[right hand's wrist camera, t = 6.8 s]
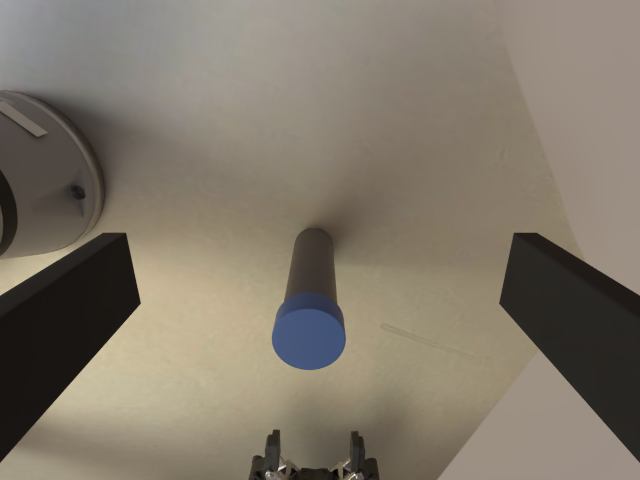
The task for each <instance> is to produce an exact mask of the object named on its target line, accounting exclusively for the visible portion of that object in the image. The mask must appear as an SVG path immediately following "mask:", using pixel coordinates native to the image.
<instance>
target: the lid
mask: <svg viewBox="0 0 640 480" xmlns="http://www.w3.org/2000/svg"><path fill="white" fill-rule="evenodd" d="M345 341H346V338H345V328H344V318H343V314H342V311H341V309H340V308H339V306H338V305H337V304H336V303H335V302H334V301H333V300H332V299H330V298H329V297H327V296H325V295H322V294H319V293H313V292H306V293H300V294H297V295H294V296H292V297H290V298H289V299H287V300H286V301H285V302H284V303H283V304H282V305H281V306H280V308H279V310H278V312H277V315H276V319H275V324H274V329H273V333H272V344H273V347H274V350H275V352H276V353H277V355H278V356H279V357H280V358H281V359H282V360H283V361H284V362H285V363H287V364H289V365H291V366H293V367H295V368H299V369H304V370H315V369H320V368H323V367H326V366H328V365H330V364H332V363H333V362H334V361H335V360H337V359H338V357H339V356H340V355H341V353H342V352H343V349H344V347H345Z"/></svg>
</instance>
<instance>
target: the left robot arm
mask: <svg viewBox="0 0 640 480" xmlns="http://www.w3.org/2000/svg"><path fill="white" fill-rule="evenodd" d="M277 471H278V472H277ZM351 472H352V473H351ZM266 479H268V480H379V473H378V467H377V460H376V459H375V458H368V459H367V460H365V446H364V440H363V437H358V431H351V442H350V457H349V458H348V459H347V460H345V461H344V462H342V461H339V462H338V463H337V464H336V465H335V466H334V467H333V468H331V469H330V470H329V471H328V469H316V470H314V469H309V468H301V470H299V469H298V468H297V467H296V466H295V465H294V464H293V463H292V462H291V461H290V460H287V461H285V460H284V459H283V458H282V457H281V456H280V430H273V435H268V437H267V441H266V447H265V457H264V458H262V457H261V456H259V455H256V456H254V457H253V460H252V467H251V472H250V475H249V480H266Z"/></svg>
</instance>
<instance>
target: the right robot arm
mask: <svg viewBox="0 0 640 480" xmlns="http://www.w3.org/2000/svg"><path fill="white" fill-rule="evenodd" d="M103 202H104V181H103V176H102V172H101V169H100V165H99V163H98V160H97V158H96V156H95V154H94V152H93V150H92V148H91V147H90V145H89V143H88V142H87V140H86V139H85V138H84V136H83V135H82V134H81V132H80V131H79V130H78V129H77V128H76V127H75V126H74V125H73V124H72V123H71V122H70V121H69V120H68V119H67V118H66V117H65V116H63V115H62V114H61V113H59V112H58V111H57V110H55V109H54V108H52V107H50V106H49V105H47V104H45V103H43V102H41V101H39V100H37V99H35V98H32V97H30V96H27V95H23V94H20V93H15V92H8V91H0V259H7V258H15V257H23V256H31V255H38V254H45V253H49V252H53V251H57V250H60V249H62V248H65V247H66V246H68V245H70V244H72V243H74V242H75V241H77V240H79V239H80V238H82V237H83V236H85V235H86V234H87V233H88V232H89V231H90V230H91V229H92V228H93V226H94V225H95V223H96V222H97V220H98V218H99V216H100V213H101V211H102V207H103ZM140 304H141V302H140V297H139V293H138V288H137V283H136V278H135V273H134V269H133V264H132V259H131V254H130V250H129V245H128V240H127V235H126V233H102V234H101V235H99V236H97V237H96V238H94V239H92V240H91V241H89V242H87V243H86V244H84V245H83V246H81V247H79V248H78V249H76V250H74V251H73V252H71V253H69V254H68V255H66V256H65V257H63V258H61V259H60V260H58V261H56V262H55V263H53V264H51V265H50V266H48V267H46V268H45V269H43V270H42V271H40V272H38V273H37V274H35V275H33V276H32V277H30V278H28V279H27V280H25V281H24V282H22V283H20V284H19V285H17V286H15V287H14V288H12V289H10V290H9V291H7V292H6V293H4V294H2V295H1V296H0V462H1V461H2V460H3V459H4V458H5V457H6V456H7V454H8V453H9V452H10V451H11V450H12V449H13V448H14V446H15V445H16V444H17V443H18V442H19V441H20V440H21V439H22V437H23V436H24V435H25V434H26V433H27V432H28V431H29V430H30V428H31V427H32V426H33V425H34V424H35V423H36V422H37V420H38V419H39V418H40V417H41V416H42V415H43V414H44V413H45V411H46V410H47V409H48V408H49V407H50V406H51V405H52V403H53V402H54V401H55V400H56V399H57V398H58V397H59V396H60V394H61V393H62V392H63V391H64V390H65V389H66V388H67V386H68V385H69V384H70V383H71V382H72V381H73V380H74V379H75V377H76V376H77V375H78V374H79V373H80V372H81V371H82V370H83V368H84V367H85V366H86V365H87V364H88V363H89V362H90V360H91V359H92V358H93V357H94V356H95V355H96V354H97V353H98V351H99V350H100V349H101V348H102V347H103V346H104V345H105V343H106V342H107V341H108V340H109V339H110V338H111V337H112V336H113V334H114V333H115V332H116V331H117V330H118V329H119V328H120V326H121V325H122V324H123V323H124V322H125V321H126V320H127V319H128V317H129V316H130V315H131V314H132V313H133V312H134V311H135V310H136V308H137V307H138V306H139V305H140ZM499 304H500V305H501V306H502V307H503V308H504V310H505V311H506V312H507V313H508V314H509V315H510V316H511V317H512V319H513V320H514V321H515V322H516V323H517V324H518V325H519V326H520V328H521V329H522V330H523V331H524V332H525V333H526V334H527V336H528V337H529V338H530V339H531V340H532V341H533V342H534V343H535V345H536V346H537V347H538V348H539V349H540V350H541V351H542V353H543V354H544V355H545V356H546V357H547V358H548V359H549V360H550V362H551V363H552V364H553V365H554V366H555V367H556V368H557V369H558V371H559V372H560V373H561V374H562V375H563V376H564V377H565V379H566V380H567V381H568V382H569V383H570V384H571V385H572V386H573V388H574V389H575V390H576V391H577V392H578V393H579V394H580V395H581V397H582V398H583V399H584V400H585V401H586V402H587V403H588V405H589V406H590V407H591V408H592V409H593V410H594V411H595V412H596V414H597V415H598V416H599V417H600V418H601V419H602V420H603V422H604V423H605V424H606V425H607V426H608V427H609V428H610V429H611V431H612V432H613V433H614V434H615V435H616V436H617V437H618V439H619V440H620V441H621V442H622V443H623V444H624V445H625V446H626V448H627V449H628V450H629V451H630V452H631V453H632V454H633V456H634V457H635V458H636V459H637V460H638V461H639V462H640V296H639V295H638V294H636V293H634V292H633V291H631V290H630V289H628V288H626V287H625V286H623V285H621V284H620V283H618V282H616V281H615V280H613V279H612V278H610V277H608V276H607V275H605V274H603V273H602V272H600V271H598V270H597V269H595V268H593V267H592V266H590V265H589V264H587V263H585V262H584V261H582V260H580V259H579V258H577V257H575V256H574V255H572V254H571V253H569V252H567V251H566V250H564V249H562V248H561V247H559V246H557V245H556V244H554V243H553V242H551V241H549V240H548V239H546V238H544V237H543V236H541V235H539V234H538V233H514V235H513V240H512V245H511V250H510V254H509V259H508V264H507V269H506V273H505V278H504V283H503V288H502V293H501V297H500V302H499Z"/></svg>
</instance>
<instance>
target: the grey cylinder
mask: <svg viewBox="0 0 640 480" xmlns="http://www.w3.org/2000/svg"><path fill="white" fill-rule="evenodd" d="M306 292H313V293H319V294H322V295H325V296H327V297H329V298H330V299H332V300H333V301H334V302H335V303H336V304H337V293H336V280H335V268H334V255H333V243H332V240H331V238H330V236H329V235H328V234H327V233H326V232H324V231H323V230H320V229H315V228H312V229H307V230H305V231H303V232H302V233H300V234H299V236H298V237H297V239H296V241H295V246H294V251H293V257H292V262H291V267H290V273H289V278H288V283H287V289H286V294H285V299H284V302H285V301H286V300H287V299H289V298H290V297H292V296H294V295H297V294H300V293H306Z"/></svg>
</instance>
